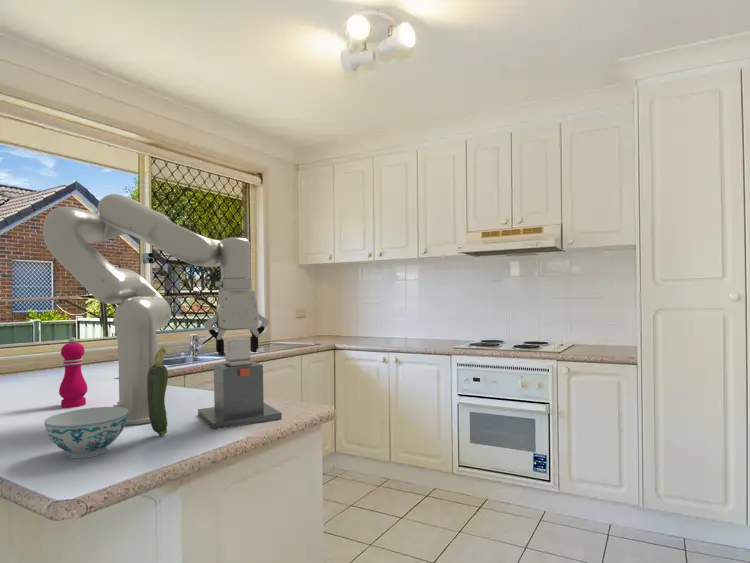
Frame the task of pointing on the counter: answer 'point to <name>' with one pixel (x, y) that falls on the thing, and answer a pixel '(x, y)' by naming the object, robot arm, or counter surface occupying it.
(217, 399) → the stand base
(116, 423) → the chinaware
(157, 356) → the vegetable
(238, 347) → the column
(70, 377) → the pepper mill
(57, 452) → the counter surface
